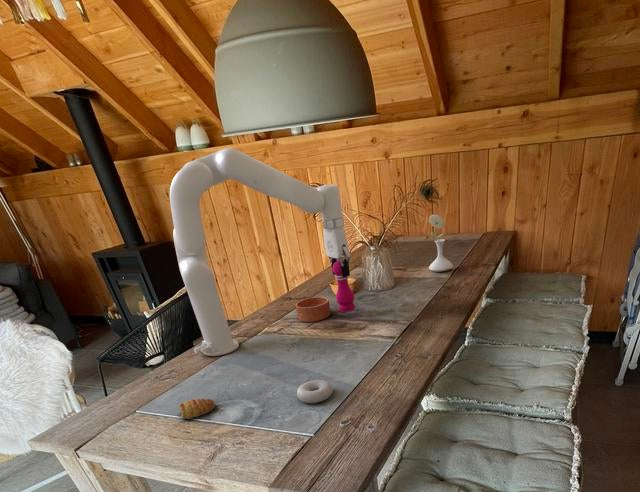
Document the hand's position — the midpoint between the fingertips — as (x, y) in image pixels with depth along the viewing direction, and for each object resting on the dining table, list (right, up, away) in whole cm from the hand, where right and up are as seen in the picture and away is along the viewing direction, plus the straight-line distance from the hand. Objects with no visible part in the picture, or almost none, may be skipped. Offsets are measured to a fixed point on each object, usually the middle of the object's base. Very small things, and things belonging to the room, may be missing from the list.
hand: (341, 274), depth 175 cm
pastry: (-37, -54, -45) cm, 80 cm away
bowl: (-12, -13, +13) cm, 22 cm away
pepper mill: (+2, -11, +8) cm, 14 cm away
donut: (-3, -50, -45) cm, 67 cm away
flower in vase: (+43, +19, +50) cm, 69 cm away
